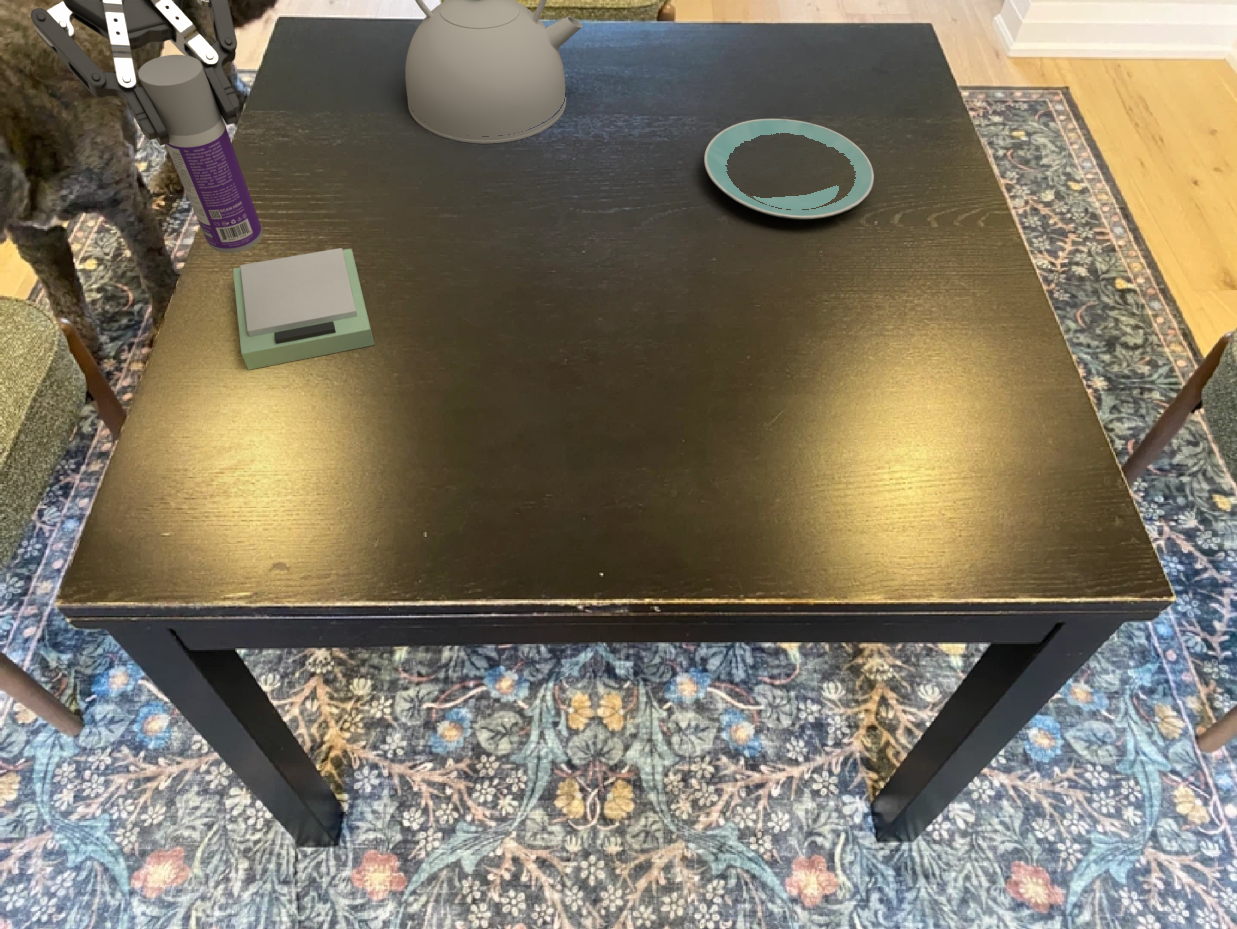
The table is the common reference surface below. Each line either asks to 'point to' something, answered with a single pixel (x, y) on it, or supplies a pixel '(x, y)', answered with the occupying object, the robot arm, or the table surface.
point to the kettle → (486, 70)
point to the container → (202, 152)
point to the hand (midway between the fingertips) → (198, 129)
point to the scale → (300, 308)
